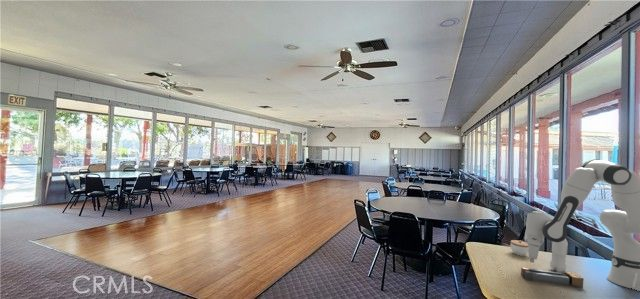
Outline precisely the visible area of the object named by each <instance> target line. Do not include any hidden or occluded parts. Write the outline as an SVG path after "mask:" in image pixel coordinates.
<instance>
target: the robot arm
mask: <svg viewBox="0 0 640 299" xmlns="http://www.w3.org/2000/svg"><path fill="white" fill-rule="evenodd" d="M598 182H603V183H606V184H610V190H611V197H612V202H613V204H615V206H616V207H618V208H619V209H611V208H610V209H604V210H602V211H601V212H600V214H599V217H598V218H599V221H600V224H602V225H603V226H604V227H605V228H606V229H607V230H608V231H609V233H610V235H611V237H612V240H613V253H612V254H611V267H610V270H609V274H608V275H607V277H606V279H607V280H608V281H610V282H611V283H613V284H616V285H617V286H621V287H625V288H628V289H631V288H632V290H634V289H635V290H634V291H636V290H637V291H636V292H639V291H640V242H639V241H638V240H636V239H635V237H633V235H632V234H634V235H637V236H640V180H639V177H638V174H637V173H636V172H635V171H633V170H631V169H629V168H627V167H626V166H624V165H622V164H617V163H615V162H612V161H609V160H608V161H607V160H602V159H600V158H599V159H598V158H591V159H588V160H586V161H585V162H584V163H583V164H582V166H580V167H576V168H575V169H574V170H573V171H572V172H571V173H570V175H569V176H568V177H567V179H566V180H565V182H564V185H563V187H562V189H561V193H560V204H559V207H558V209H557V211H556V213H555V215H554V216H553V217H551V216H550V215H547V214H546V212H545V213H544V211H538V210H535V211H534V210H533V211H529V212H528V213H527V216H526V219H525V227H526V228H525V232H524V241H525V242H526V243H527V244H528V253H527V254H528V258H530V259H529V263H535V260H537V259H538V256H539V252H540V247H542V245H543V244H544V242H545V240H544V238H545V239H547V241H549V242H551V243H552V242H561V241H563V240H565V239H566V240H567V235H568V232H567V230H568V229H567V227H568V225H569V222H570V221H571V219H572V217H573V215H574V213H575V212H576V211H577V209H578V208H579V207H580V206H581V205H582V204H583V203H584V202H585V201H586V199H588V197H589V195H590V193H591V192H592V189H593V187H594V186H595V184H596V183H598Z"/></svg>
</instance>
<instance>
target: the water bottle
mask: <svg viewBox="0 0 640 299" xmlns="http://www.w3.org/2000/svg"><path fill="white" fill-rule="evenodd" d="M568 245H569V243H568V240H567V238H566V239H565V240H563V241H561V242H552V241H551V260H550V270H552V271H555V272H560V273H564V271H567V264H566V262H567V260H566V258H567V256H568Z"/></svg>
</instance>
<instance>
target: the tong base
mask: <svg viewBox="0 0 640 299" xmlns="http://www.w3.org/2000/svg"><path fill="white" fill-rule="evenodd" d="M563 273H566V274H567V276H560V275H552V274H545V273H537V272H531V271H524V277H523V279H524V280H526V281H531V282H532V281H533V282H541V283H548V284H552V285H553V284H555V285H563V286H569V287H570V286H571V287H575V288H581V289H583V288H584V281H585V280H584V277H582V276H581V275H579V274H578V273H576V272H574V271H567V270H565V271H564V272H563Z"/></svg>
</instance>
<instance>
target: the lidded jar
mask: <svg viewBox="0 0 640 299" xmlns="http://www.w3.org/2000/svg"><path fill="white" fill-rule="evenodd" d="M510 249H511V251H512V253H513V254H515V255H516V254H517V256H519V255H520V256H521V257H525V256H527V255H528V254H529V253H528V244H527V242H526V241H523V240H516V239H512V240H510Z"/></svg>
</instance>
